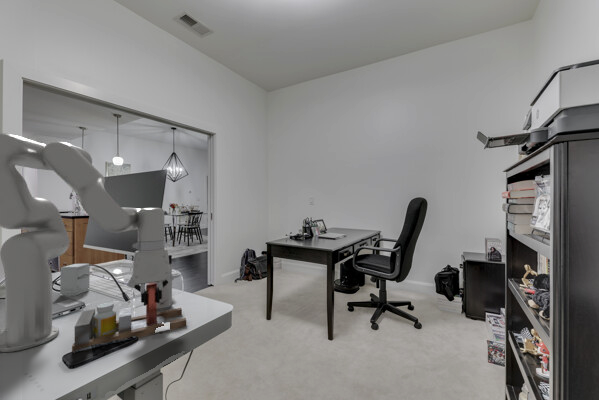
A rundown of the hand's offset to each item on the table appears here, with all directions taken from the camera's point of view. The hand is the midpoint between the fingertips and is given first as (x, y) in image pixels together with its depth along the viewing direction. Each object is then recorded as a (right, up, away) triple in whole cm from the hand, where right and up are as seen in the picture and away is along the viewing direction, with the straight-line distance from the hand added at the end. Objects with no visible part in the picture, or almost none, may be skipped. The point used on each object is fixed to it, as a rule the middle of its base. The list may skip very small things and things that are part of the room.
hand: (151, 302), depth 83 cm
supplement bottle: (-10, -8, -7) cm, 14 cm away
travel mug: (-4, -8, +15) cm, 18 cm away
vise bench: (-4, -8, -3) cm, 9 cm away
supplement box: (-54, -9, +33) cm, 64 cm away
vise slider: (-2, -7, -2) cm, 8 cm away
